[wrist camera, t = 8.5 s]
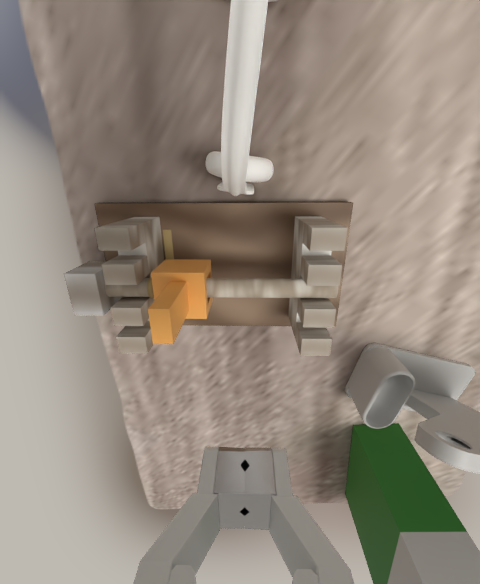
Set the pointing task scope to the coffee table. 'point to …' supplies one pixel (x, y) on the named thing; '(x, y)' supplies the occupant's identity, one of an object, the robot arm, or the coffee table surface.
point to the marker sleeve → (178, 296)
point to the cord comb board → (221, 265)
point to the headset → (241, 101)
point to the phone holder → (419, 400)
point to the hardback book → (404, 514)
